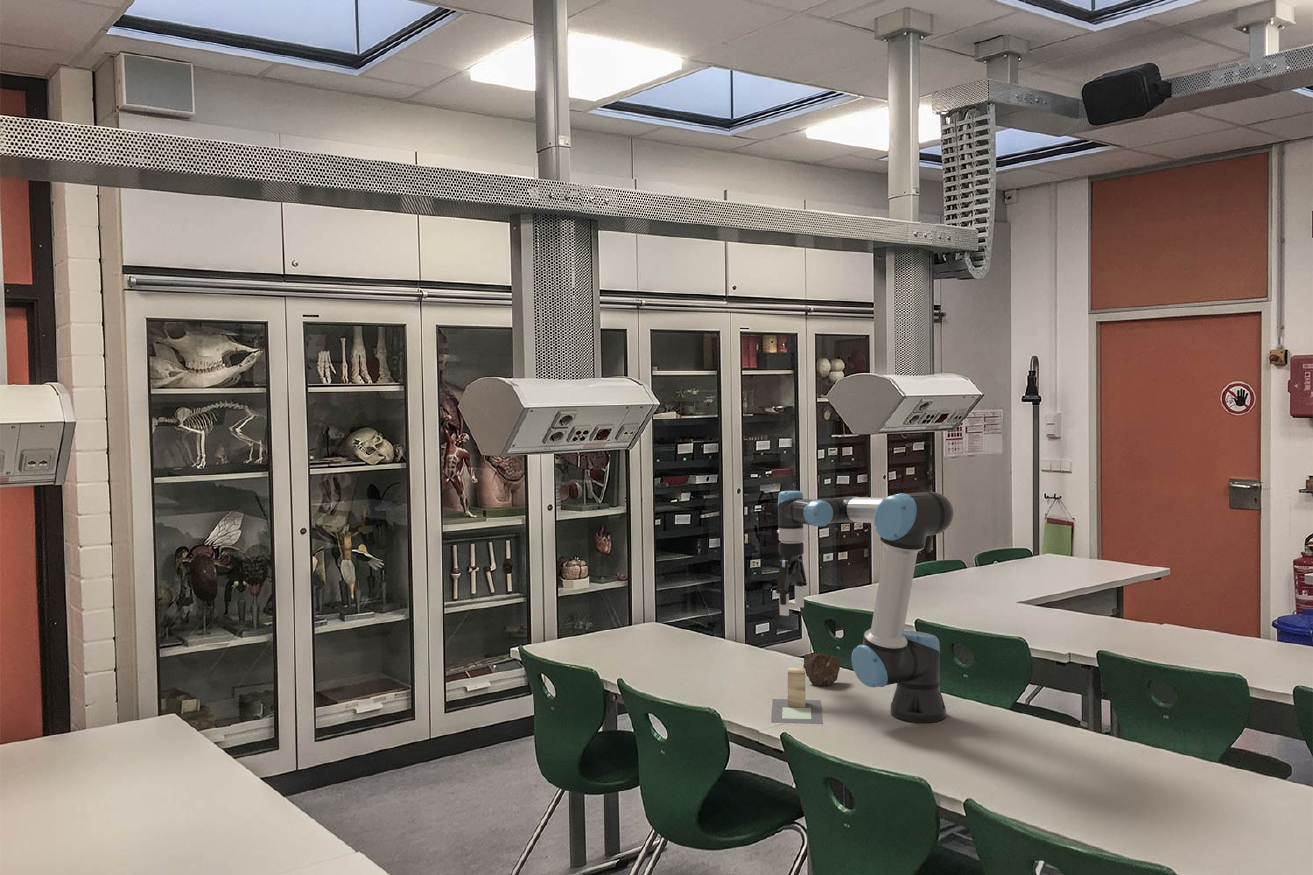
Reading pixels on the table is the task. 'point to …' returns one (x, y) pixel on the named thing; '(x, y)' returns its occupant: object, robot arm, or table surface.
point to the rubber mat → (796, 712)
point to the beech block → (796, 687)
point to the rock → (821, 668)
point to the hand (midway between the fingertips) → (792, 611)
